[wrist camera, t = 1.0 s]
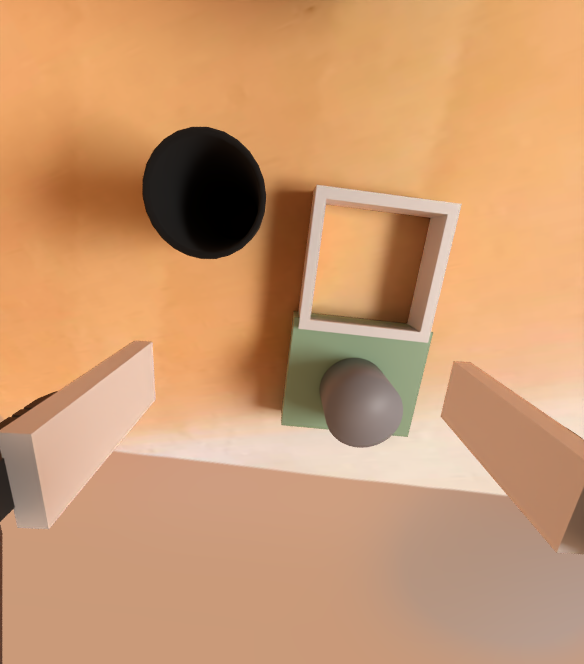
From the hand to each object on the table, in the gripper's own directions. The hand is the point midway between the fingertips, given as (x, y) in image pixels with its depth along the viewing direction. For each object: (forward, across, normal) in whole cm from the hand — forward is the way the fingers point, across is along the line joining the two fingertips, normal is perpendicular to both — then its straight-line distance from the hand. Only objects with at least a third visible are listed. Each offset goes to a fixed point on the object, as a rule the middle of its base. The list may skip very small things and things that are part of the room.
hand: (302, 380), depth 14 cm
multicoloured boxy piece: (+21, +7, -2) cm, 22 cm away
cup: (+21, -6, +8) cm, 23 cm away
